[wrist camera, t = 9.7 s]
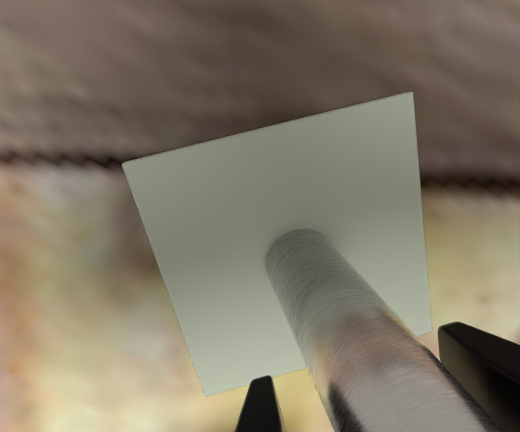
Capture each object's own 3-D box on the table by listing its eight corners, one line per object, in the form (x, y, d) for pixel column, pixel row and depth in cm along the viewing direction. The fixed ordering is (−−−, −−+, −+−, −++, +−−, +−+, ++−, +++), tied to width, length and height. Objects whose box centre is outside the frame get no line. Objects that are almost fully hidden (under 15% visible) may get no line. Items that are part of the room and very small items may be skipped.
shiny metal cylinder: (328, 220, 12) (772, 645, 3) (338, 281, 13) (704, 754, 4) (258, 240, 12) (507, 768, 3) (273, 301, 13) (499, 855, 4)
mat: (406, 92, 12) (413, 91, 11) (426, 325, 15) (432, 331, 14) (124, 161, 11) (121, 164, 11) (204, 388, 14) (204, 396, 14)
